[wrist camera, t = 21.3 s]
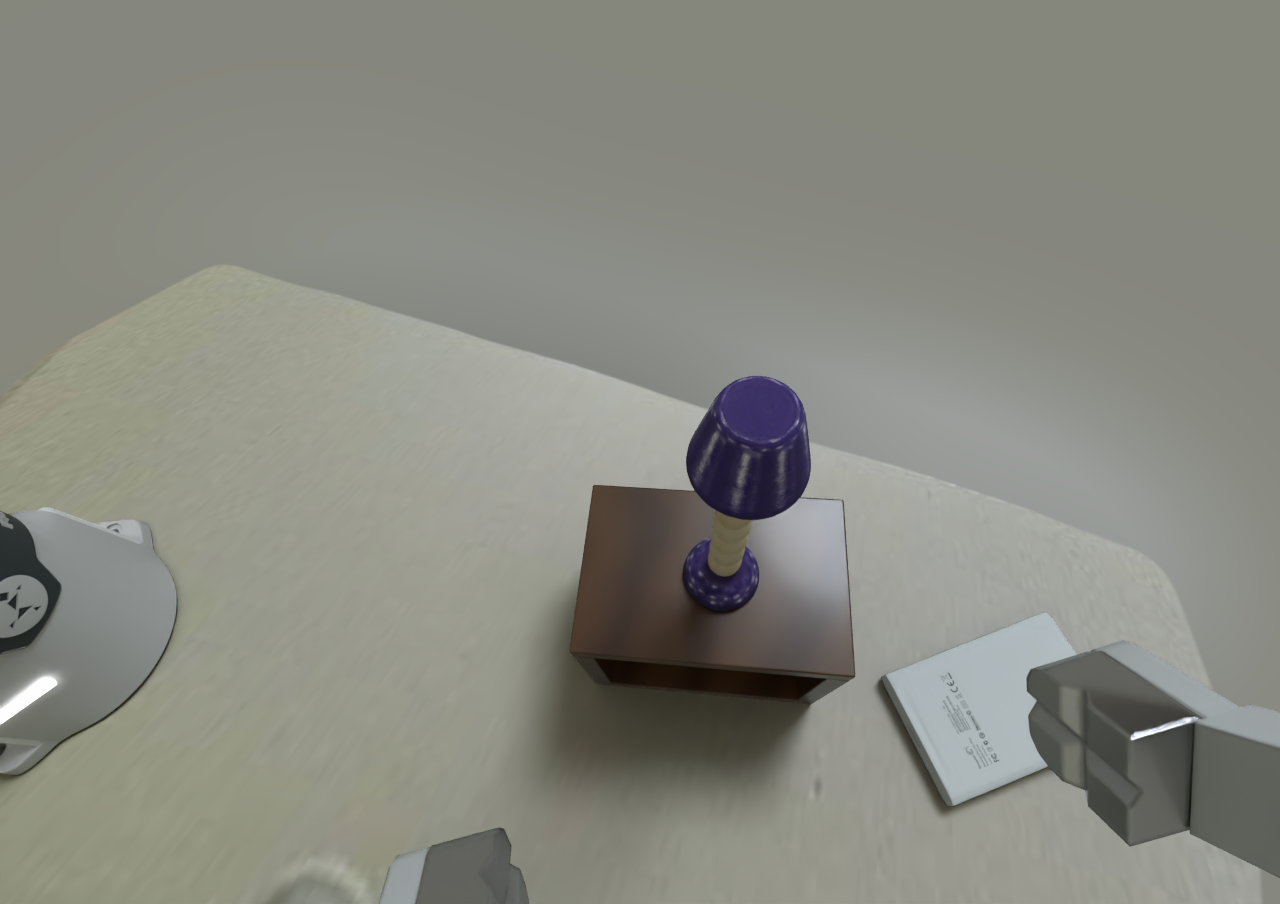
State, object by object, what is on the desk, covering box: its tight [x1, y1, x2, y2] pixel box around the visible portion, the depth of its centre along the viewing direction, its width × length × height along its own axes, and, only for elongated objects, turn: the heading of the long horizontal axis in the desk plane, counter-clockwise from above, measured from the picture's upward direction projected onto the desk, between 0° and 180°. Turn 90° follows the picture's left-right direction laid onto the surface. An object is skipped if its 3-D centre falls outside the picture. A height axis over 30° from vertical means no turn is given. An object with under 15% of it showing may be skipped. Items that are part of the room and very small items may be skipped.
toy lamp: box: [683, 376, 811, 611], centre depth 27 cm, size 5×5×17 cm
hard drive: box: [881, 612, 1077, 806], centre depth 41 cm, size 2×8×12 cm
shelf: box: [570, 485, 855, 704], centre depth 40 cm, size 15×10×12 cm, turn 84°
